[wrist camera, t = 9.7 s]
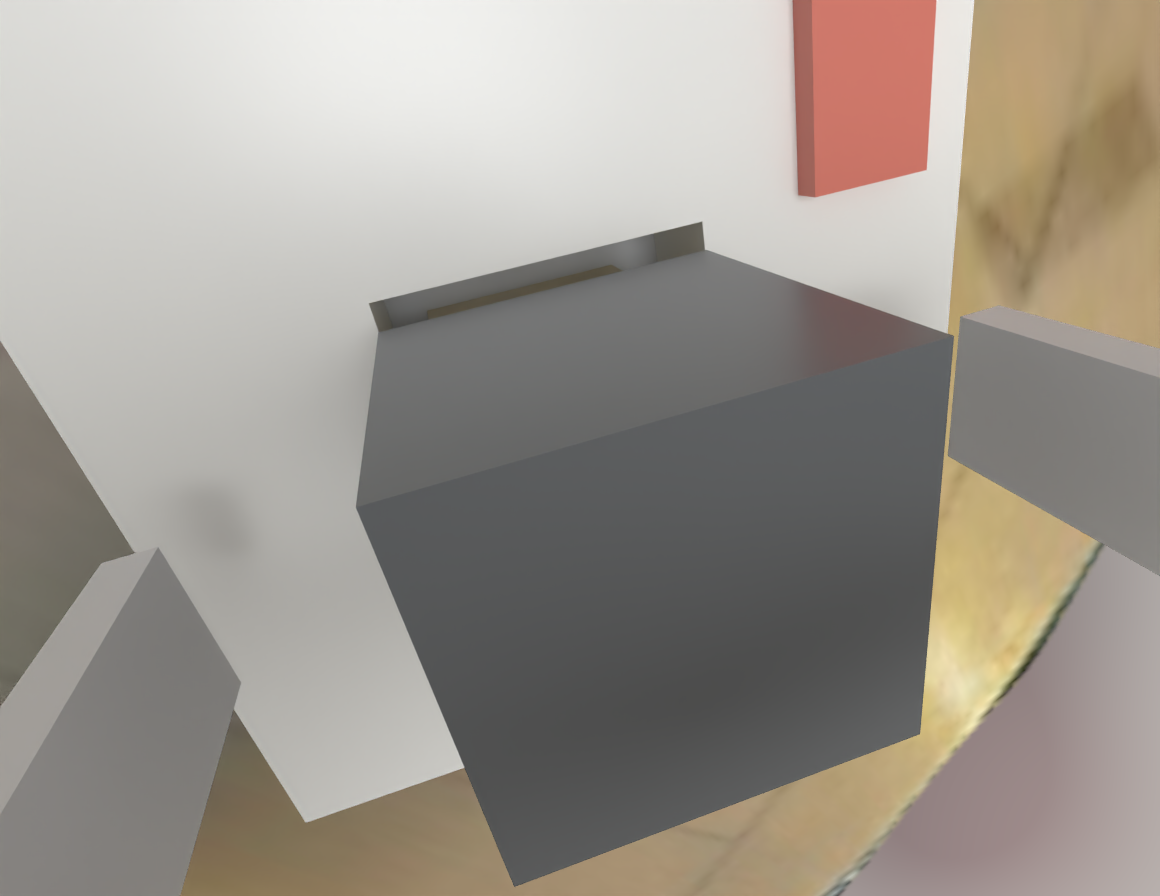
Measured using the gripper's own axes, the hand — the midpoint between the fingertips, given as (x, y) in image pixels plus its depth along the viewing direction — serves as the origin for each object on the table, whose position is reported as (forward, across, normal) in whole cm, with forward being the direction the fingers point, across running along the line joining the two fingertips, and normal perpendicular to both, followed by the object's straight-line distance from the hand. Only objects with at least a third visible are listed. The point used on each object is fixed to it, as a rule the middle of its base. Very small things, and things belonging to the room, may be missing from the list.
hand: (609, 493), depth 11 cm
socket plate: (+7, 0, 0) cm, 7 cm away
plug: (+6, 0, 0) cm, 6 cm away
